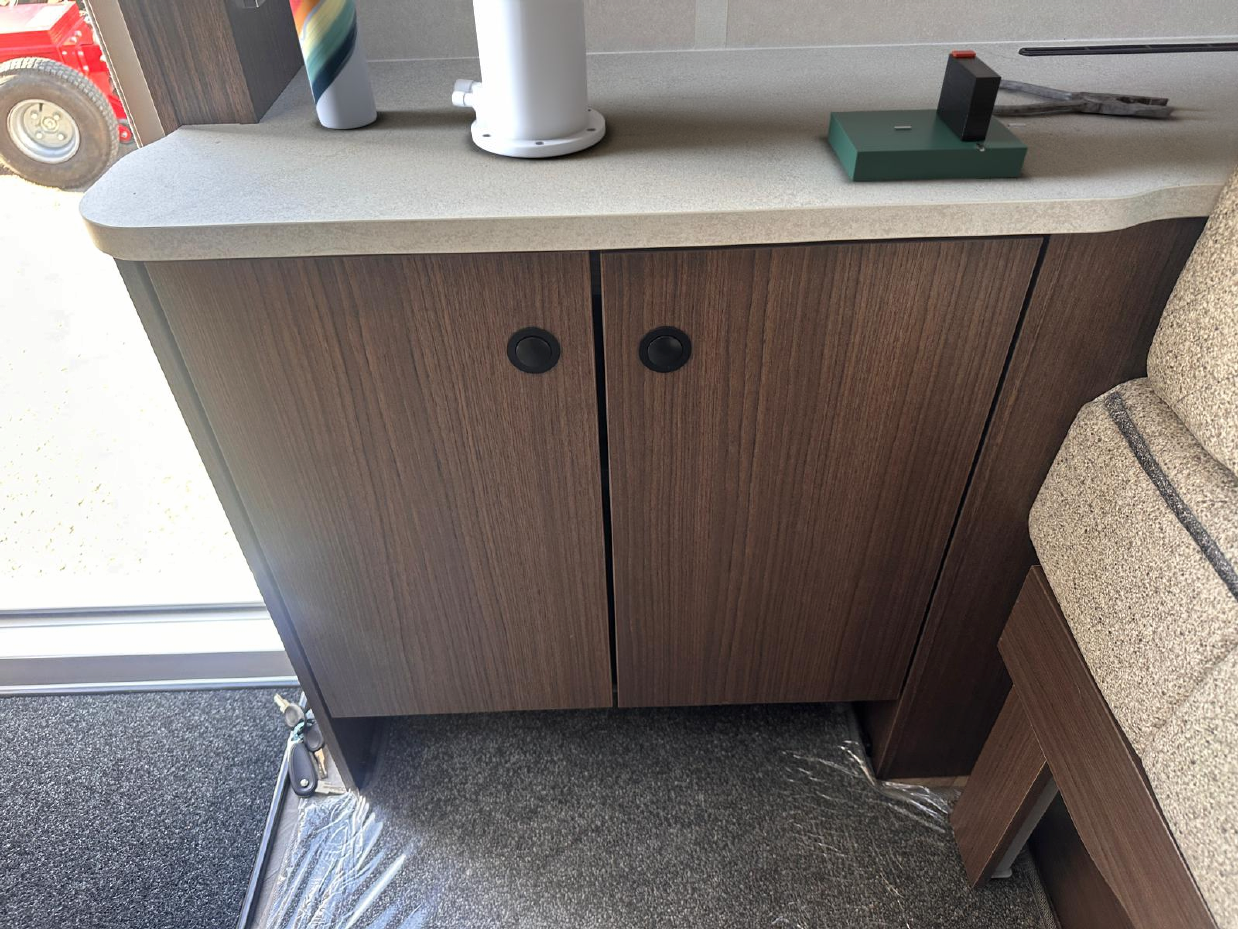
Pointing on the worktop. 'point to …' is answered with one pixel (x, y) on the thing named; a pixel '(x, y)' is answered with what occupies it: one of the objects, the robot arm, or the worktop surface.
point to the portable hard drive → (968, 96)
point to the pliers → (1084, 102)
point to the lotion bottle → (335, 62)
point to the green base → (920, 147)
